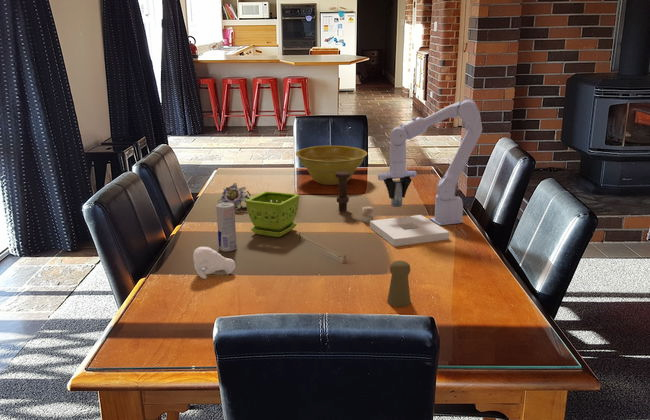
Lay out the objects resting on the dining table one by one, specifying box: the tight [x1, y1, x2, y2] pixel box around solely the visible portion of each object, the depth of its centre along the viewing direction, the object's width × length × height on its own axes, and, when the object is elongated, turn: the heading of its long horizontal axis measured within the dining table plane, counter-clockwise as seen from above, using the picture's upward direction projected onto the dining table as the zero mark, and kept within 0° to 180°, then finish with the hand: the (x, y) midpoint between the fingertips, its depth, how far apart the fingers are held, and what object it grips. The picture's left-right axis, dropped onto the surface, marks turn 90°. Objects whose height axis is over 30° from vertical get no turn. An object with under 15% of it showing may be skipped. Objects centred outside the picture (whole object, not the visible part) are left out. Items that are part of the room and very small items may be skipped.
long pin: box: [390, 179, 403, 208], centre depth 218 cm, size 4×4×9 cm
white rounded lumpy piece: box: [192, 246, 236, 280], centre depth 172 cm, size 6×8×12 cm
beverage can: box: [216, 202, 237, 253], centre depth 190 cm, size 6×6×15 cm
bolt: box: [336, 171, 350, 212], centre depth 229 cm, size 6×5×15 cm
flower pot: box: [245, 191, 300, 238], centre depth 206 cm, size 14×14×13 cm
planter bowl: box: [295, 145, 368, 186], centre depth 272 cm, size 32×32×13 cm
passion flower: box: [217, 182, 252, 209], centre depth 234 cm, size 11×11×12 cm
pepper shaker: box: [386, 260, 412, 308], centre depth 153 cm, size 6×6×11 cm
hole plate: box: [369, 214, 450, 247], centre depth 205 cm, size 20×20×2 cm
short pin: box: [361, 205, 374, 224], centre depth 218 cm, size 4×4×5 cm
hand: (396, 197), depth 219 cm, fingers closed on long pin, 4 cm apart
